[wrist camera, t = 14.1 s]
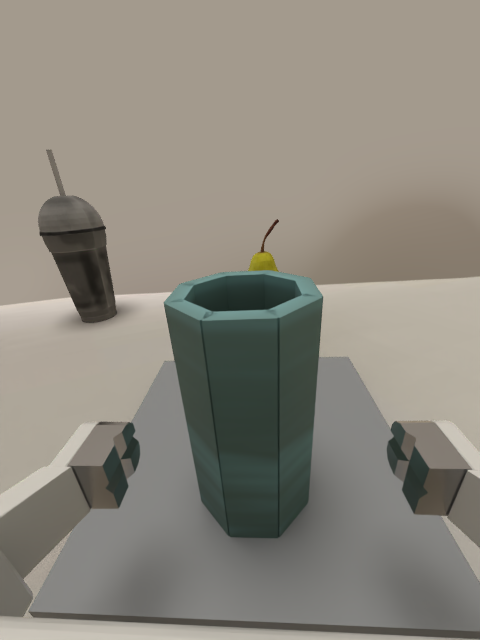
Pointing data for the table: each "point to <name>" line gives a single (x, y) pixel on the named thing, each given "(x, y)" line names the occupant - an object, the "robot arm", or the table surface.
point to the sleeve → (249, 393)
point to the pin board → (269, 553)
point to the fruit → (263, 257)
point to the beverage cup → (79, 251)
